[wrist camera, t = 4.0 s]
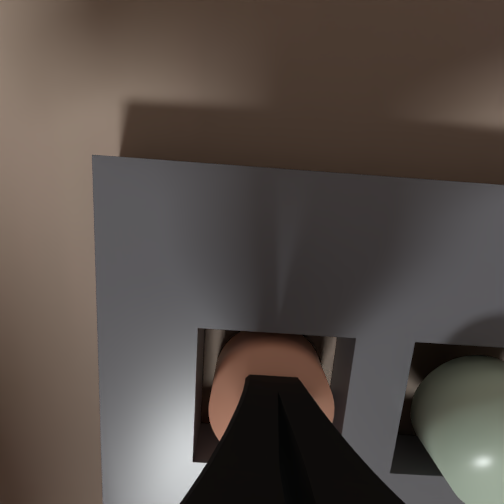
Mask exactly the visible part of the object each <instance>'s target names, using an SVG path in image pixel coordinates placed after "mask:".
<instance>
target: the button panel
mask: <svg viewBox="0 0 504 504" xmlns="http://www.w3.org/2000/svg"><path fill="white" fill-rule="evenodd" d="M92 169H93V202H94V235H95V267H96V300H97V332H98V365H99V397H100V430H101V462H102V495H103V504H180V502H181V501H182V499H183V498H184V497H185V495H186V494H187V492H188V491H189V489H190V488H191V486H192V485H193V484H194V482H195V481H196V479H197V478H198V476H199V475H200V473H201V471H202V470H203V468H204V467H205V465H206V464H207V462H208V460H209V459H210V457H211V455H212V453H213V452H214V450H215V448H216V446H217V445H218V443H219V440H218V438H217V437H216V435H215V433H214V431H213V429H212V426H211V424H207V423H201V402H202V380H203V357H204V334H205V328H206V329H221V330H237V331H252V332H268V333H284V334H299V335H315V336H330V337H337V343H336V351H335V358H334V365H333V373H332V380H331V387H330V389H331V392H332V395H333V399H334V418H333V422H332V424H333V425H334V426H335V427H336V429H337V430H338V431H339V432H340V434H341V435H342V436H343V437H344V439H345V440H346V441H347V442H348V443H349V445H350V446H351V447H352V448H353V449H354V450H355V452H356V453H357V454H358V455H359V456H360V457H361V458H362V459H363V461H364V462H365V463H366V464H367V465H368V466H369V467H370V468H371V469H372V470H373V472H374V473H375V474H376V475H377V476H378V477H379V478H380V479H381V480H382V481H383V482H384V483H385V484H386V485H387V486H388V487H389V488H390V489H391V490H392V491H393V492H394V493H395V494H396V495H397V496H398V497H399V498H400V499H401V500H402V501H403V502H404V503H405V504H465V503H464V502H463V501H462V500H460V499H459V498H458V497H457V495H456V494H455V493H454V491H453V490H452V488H451V487H450V485H449V484H448V482H447V481H446V479H445V478H444V476H443V475H442V473H441V472H440V470H439V468H438V467H437V465H436V464H435V462H434V461H433V459H432V458H431V456H430V455H429V453H428V452H427V450H426V449H425V447H424V445H423V444H422V442H421V441H420V439H419V438H418V436H411V435H397V433H398V428H399V423H400V418H401V412H402V407H403V402H404V397H405V391H406V386H407V381H408V376H409V371H410V365H411V360H412V355H413V350H414V344H415V342H424V343H439V344H455V345H470V346H486V347H502V348H504V185H497V184H483V183H469V182H456V181H442V180H429V179H415V178H401V177H388V176H374V175H361V174H347V173H333V172H320V171H306V170H293V169H279V168H265V167H252V166H238V165H225V164H211V163H197V162H184V161H170V160H157V159H143V158H129V157H116V156H102V155H92Z"/></svg>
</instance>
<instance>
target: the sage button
mask: <svg viewBox="0 0 504 504" xmlns="http://www.w3.org/2000/svg"><path fill="white" fill-rule="evenodd" d="M410 412H411V422H412V426H413V429H414V431H415V433H416V435H417V436H418V438H419V439H420V441H421V442H422V444H423V445H424V447H425V449H426V450H427V452H428V453H429V455H430V456H431V458H432V459H433V461H434V462H435V464H436V465H437V467H438V468H439V470H440V472H441V473H442V475H443V476H444V478H445V479H446V481H447V482H448V484H449V485H450V487H451V488H452V490H453V491H454V493H455V494H456V495H457V497H458V498H459V499H460V500H462V501H463V502H464V503H465V504H504V361H502V360H500V359H497V358H494V357H490V356H484V355H470V356H463V357H459V358H456V359H453V360H450V361H448V362H446V363H444V364H442V365H440V366H439V367H437V368H436V369H434V370H433V371H432V372H431V373H429V374H428V375H427V377H426V378H425V379H424V380H423V381H422V382H421V384H420V385H419V387H418V388H417V390H416V392H415V394H414V397H413V400H412V403H411V411H410Z"/></svg>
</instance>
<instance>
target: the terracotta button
mask: <svg viewBox="0 0 504 504" xmlns="http://www.w3.org/2000/svg"><path fill="white" fill-rule="evenodd" d="M250 374H252V375H268V376H285V377H298V378H299V380H300V381H301V382H302V383H303V385H304V386H305V388H306V389H307V390H308V392H309V393H310V395H311V396H312V397H313V399H314V400H315V401H316V403H317V404H318V405H319V407H320V408H321V409H322V411H323V412H324V413H325V415H326V416H327V417H328V419H329V420H330V421H331V422H333V418H334V399H333V395H332V392H331V389H330V387H329V384H328V382H327V379H326V376H325V374H324V371H323V368H322V366H321V363H320V361H319V358H318V355H317V353H316V351H315V349H314V348H313V346H312V345H311V344H310V342H309V341H308V340H307V339H306V338H305V337H303V336H302V335H299V334H284V333H268V332H252V331H241V332H239V333H238V334H236V335H235V336H234V337H232V338H231V339H230V340H229V341H228V342H227V343H226V345H225V346H224V347H223V349H222V351H221V352H220V355H219V357H218V360H217V364H216V369H215V374H214V379H213V385H212V390H211V395H210V401H209V419H210V423H211V426H212V429H213V431H214V433H215V435H216V437H217V438H218V440H219V441H220V439H221V438H222V436H223V434H224V432H225V430H226V428H227V426H228V424H229V422H230V420H231V418H232V416H233V414H234V412H235V410H236V407H237V405H238V402H239V400H240V397H241V395H242V392H243V388H244V384H245V378H246V377H247V376H249V375H250Z"/></svg>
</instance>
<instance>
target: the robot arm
mask: <svg viewBox="0 0 504 504" xmlns="http://www.w3.org/2000/svg"><path fill="white" fill-rule="evenodd" d="M180 504H405V503H404V502H403V501H402V500H401V499H400V498H399V497H398V496H397V495H396V494H395V493H394V492H393V491H392V490H391V489H390V488H389V487H388V486H387V485H386V484H385V483H384V482H383V481H382V480H381V479H380V478H379V477H378V476H377V475H376V474H375V473H374V472H373V470H372V469H371V468H370V467H369V466H368V465H367V464H366V463H365V462H364V461H363V459H362V458H361V457H360V456H359V455H358V454H357V453H356V452H355V450H354V449H353V448H352V447H351V446H350V445H349V443H348V442H347V441H346V440H345V439H344V437H343V436H342V435H341V434H340V432H339V431H338V430H337V429H336V427H335V426H334V425H333V424H332V422H331V421H330V420H329V419H328V417H327V416H326V415H325V413H324V412H323V411H322V409H321V408H320V407H319V405H318V404H317V403H316V401H315V400H314V399H313V397H312V396H311V395H310V393H309V392H308V390H307V389H306V388H305V386H304V385H303V383H302V382H301V381H300V380H299V378H298V377H285V376H268V375H252V374H250V375H249V376H247V377H246V378H245V384H244V388H243V392H242V395H241V397H240V400H239V402H238V405H237V407H236V410H235V412H234V414H233V416H232V418H231V420H230V422H229V424H228V426H227V428H226V430H225V432H224V434H223V436H222V438H221V439H220V441H219V443H218V445H217V446H216V448H215V450H214V452H213V453H212V455H211V457H210V459H209V460H208V462H207V464H206V465H205V467H204V468H203V470H202V471H201V473H200V475H199V476H198V478H197V479H196V481H195V482H194V484H193V485H192V486H191V488H190V489H189V491H188V492H187V494H186V495H185V497H184V498H183V499H182V501H181V502H180Z"/></svg>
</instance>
